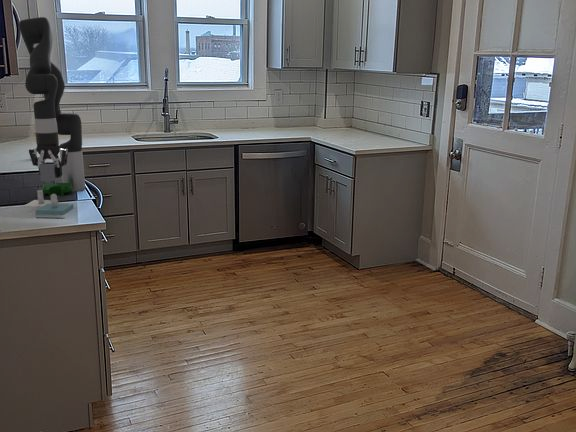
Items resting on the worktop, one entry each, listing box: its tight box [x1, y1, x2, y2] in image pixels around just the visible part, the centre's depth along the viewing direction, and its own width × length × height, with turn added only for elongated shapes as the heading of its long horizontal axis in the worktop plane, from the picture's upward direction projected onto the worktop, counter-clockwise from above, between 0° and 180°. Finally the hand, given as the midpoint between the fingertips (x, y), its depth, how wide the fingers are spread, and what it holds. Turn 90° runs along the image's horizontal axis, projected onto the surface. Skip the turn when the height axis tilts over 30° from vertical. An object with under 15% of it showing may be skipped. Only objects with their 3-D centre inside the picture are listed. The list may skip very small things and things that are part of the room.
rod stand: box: [23, 189, 60, 208], centre depth 233 cm, size 10×10×6 cm
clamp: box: [40, 182, 74, 197], centre depth 248 cm, size 12×6×9 cm, turn 94°
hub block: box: [35, 194, 75, 220], centre depth 221 cm, size 10×10×8 cm
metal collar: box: [38, 161, 62, 182], centre depth 218 cm, size 5×5×6 cm
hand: (51, 177), depth 218 cm, fingers closed on metal collar, 5 cm apart
